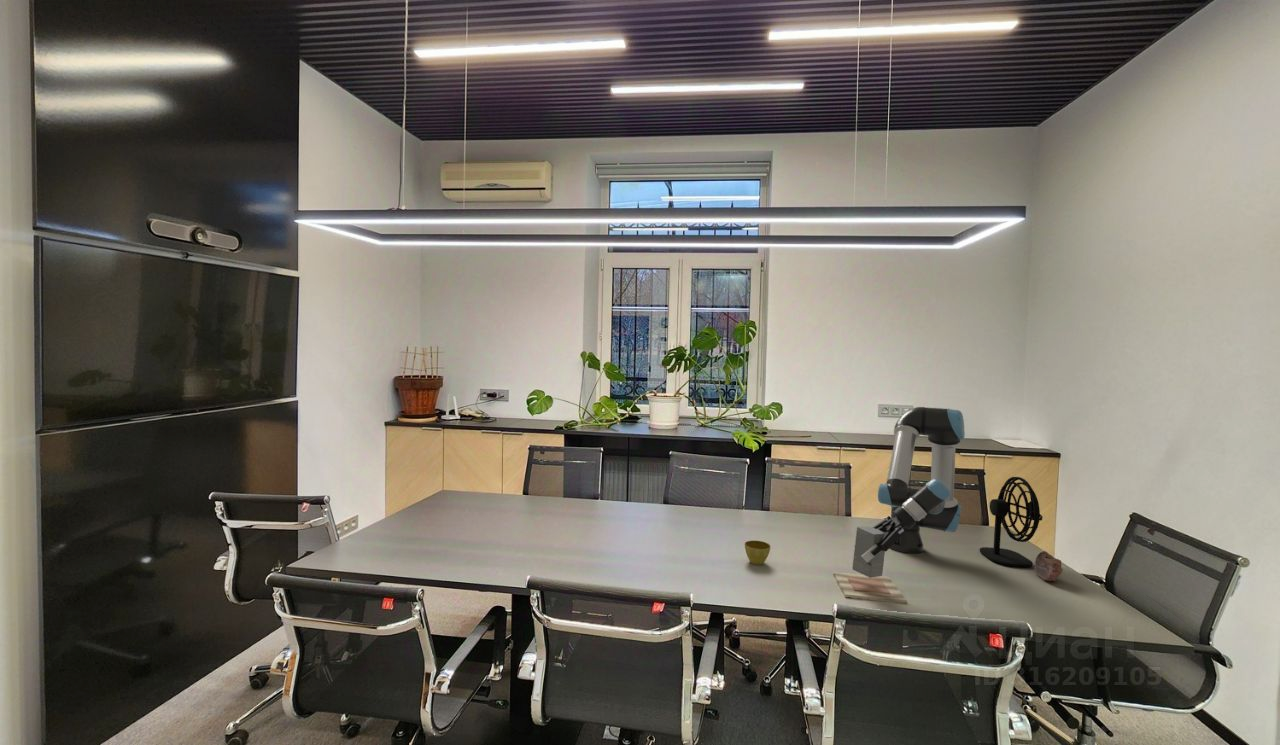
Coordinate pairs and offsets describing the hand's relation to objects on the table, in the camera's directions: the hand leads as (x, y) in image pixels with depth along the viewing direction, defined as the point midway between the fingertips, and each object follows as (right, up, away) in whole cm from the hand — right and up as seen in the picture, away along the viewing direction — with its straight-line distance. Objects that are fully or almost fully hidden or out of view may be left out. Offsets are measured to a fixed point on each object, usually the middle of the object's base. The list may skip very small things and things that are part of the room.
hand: (860, 554), depth 198 cm
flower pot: (-33, -11, +22) cm, 40 cm away
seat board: (+3, -12, 0) cm, 13 cm away
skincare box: (+3, -7, 0) cm, 7 cm away
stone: (+80, -15, +15) cm, 82 cm away
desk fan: (+76, -14, +35) cm, 85 cm away
